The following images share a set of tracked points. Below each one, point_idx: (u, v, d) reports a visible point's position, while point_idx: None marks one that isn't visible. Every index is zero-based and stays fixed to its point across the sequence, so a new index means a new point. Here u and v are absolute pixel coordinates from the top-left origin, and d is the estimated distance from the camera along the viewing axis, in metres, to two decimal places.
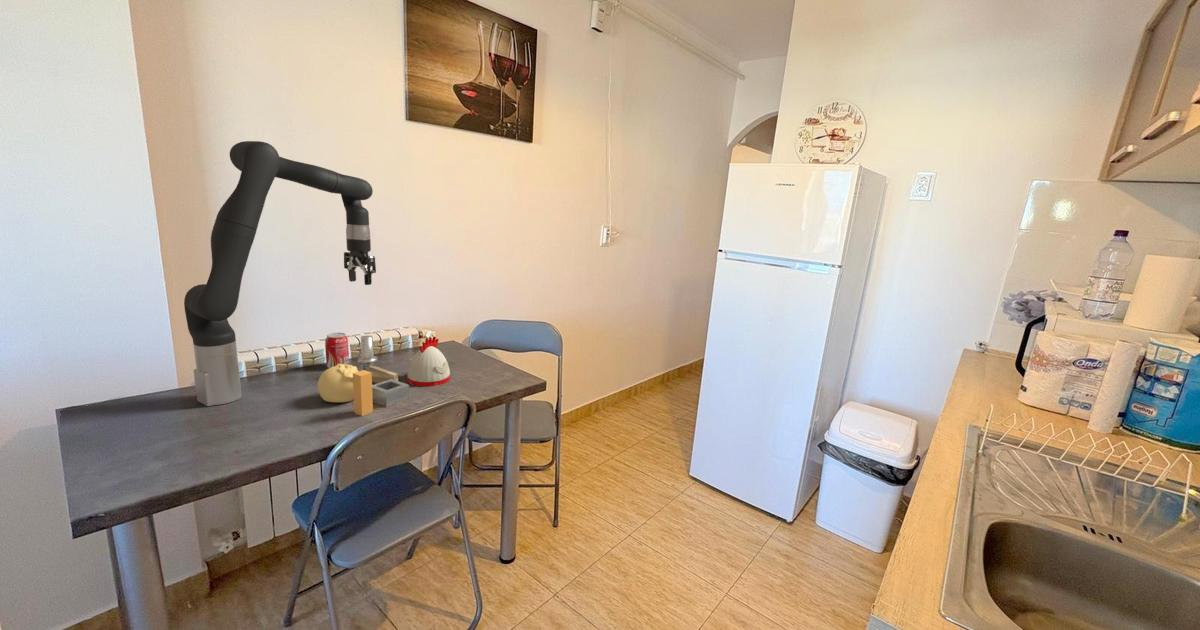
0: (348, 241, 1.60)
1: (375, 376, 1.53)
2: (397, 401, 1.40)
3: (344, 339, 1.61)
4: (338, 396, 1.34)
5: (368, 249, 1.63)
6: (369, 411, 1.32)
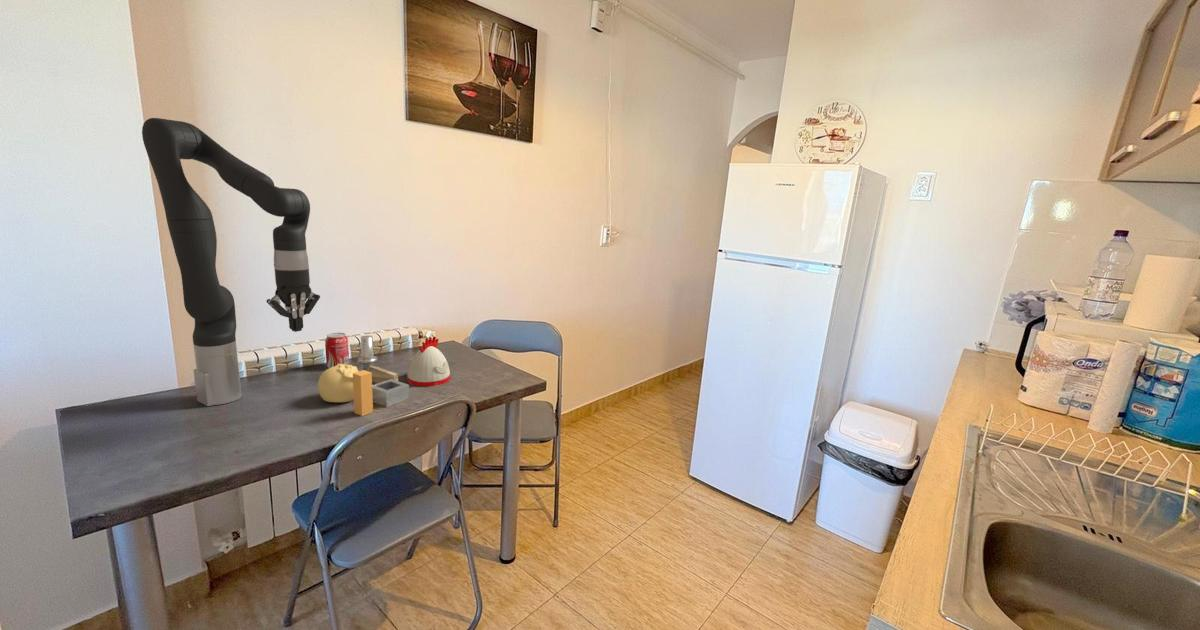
0: (300, 273, 1.19)
1: (375, 376, 1.53)
2: (397, 401, 1.40)
3: (344, 339, 1.61)
4: (338, 396, 1.34)
5: None
6: (369, 411, 1.32)
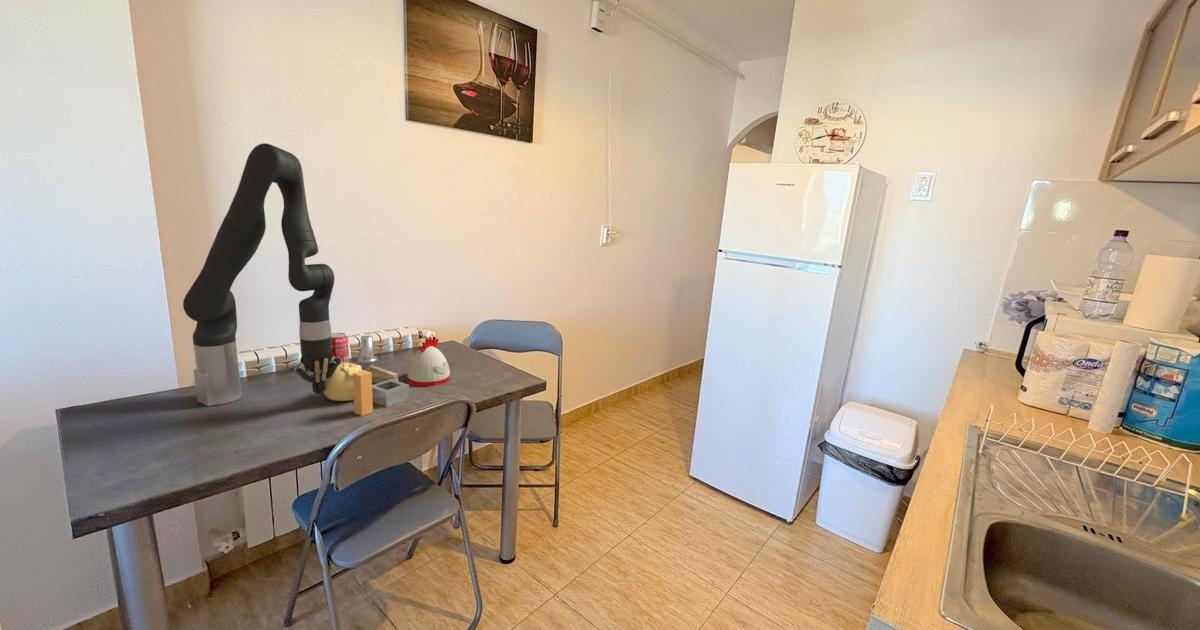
0: (323, 342, 1.28)
1: (375, 376, 1.53)
2: (397, 401, 1.40)
3: (344, 339, 1.61)
4: (342, 395, 1.35)
5: None
6: (369, 411, 1.32)
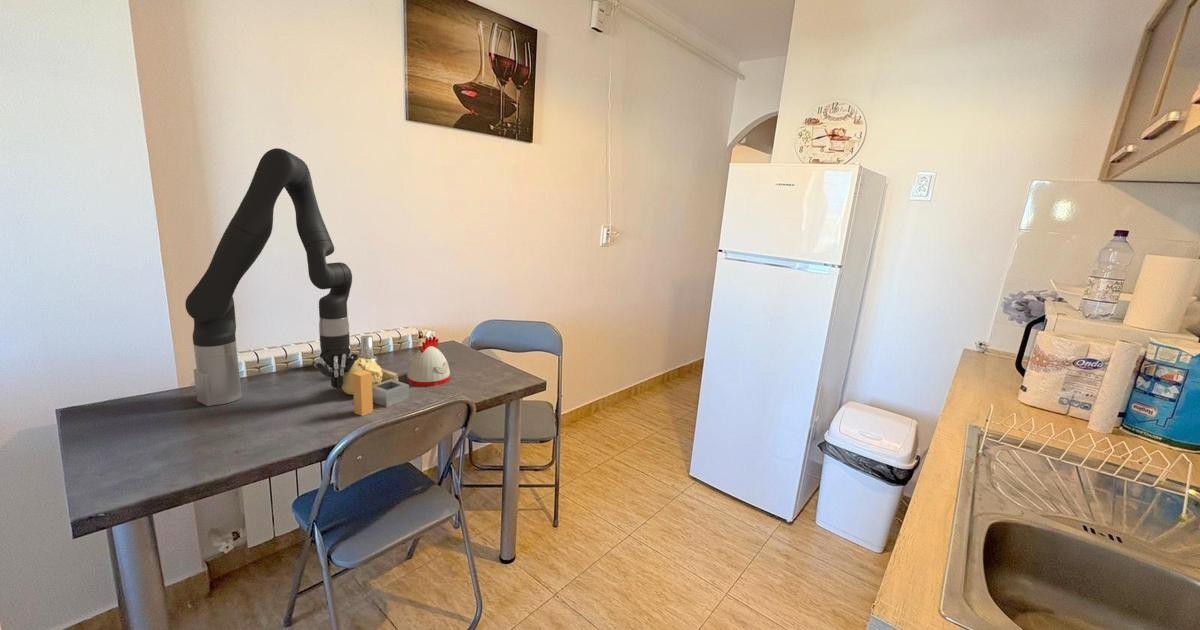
0: (342, 338, 1.33)
1: None
2: (397, 401, 1.40)
3: None
4: None
5: None
6: (369, 411, 1.32)
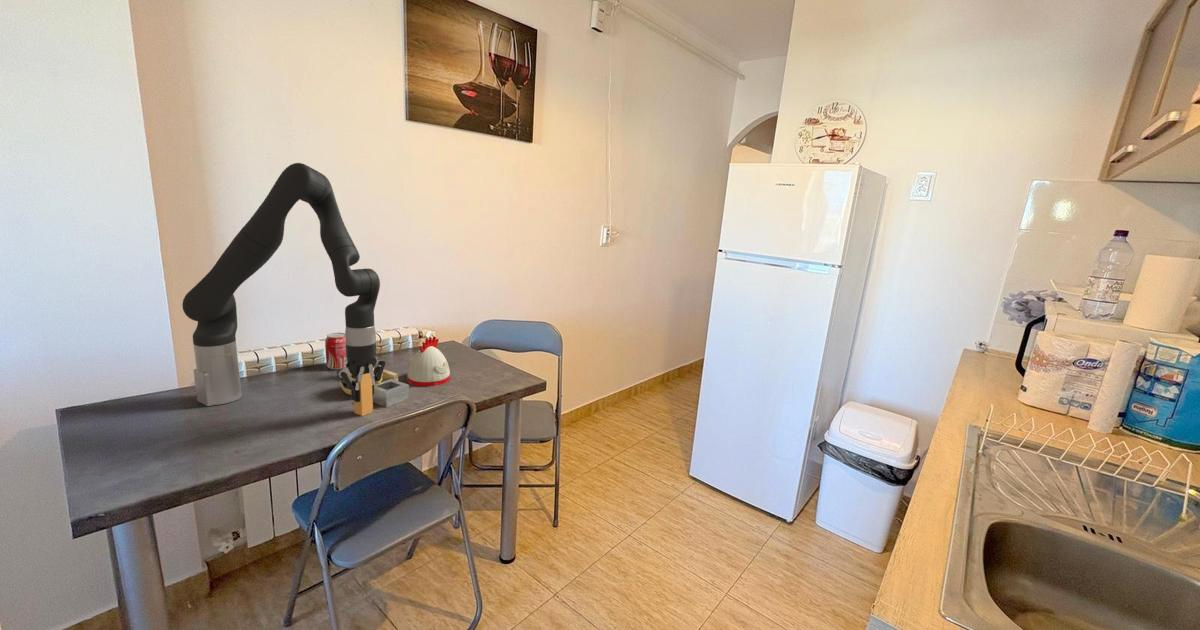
0: (369, 348, 1.26)
1: None
2: (397, 401, 1.40)
3: (344, 339, 1.61)
4: None
5: None
6: (369, 411, 1.32)
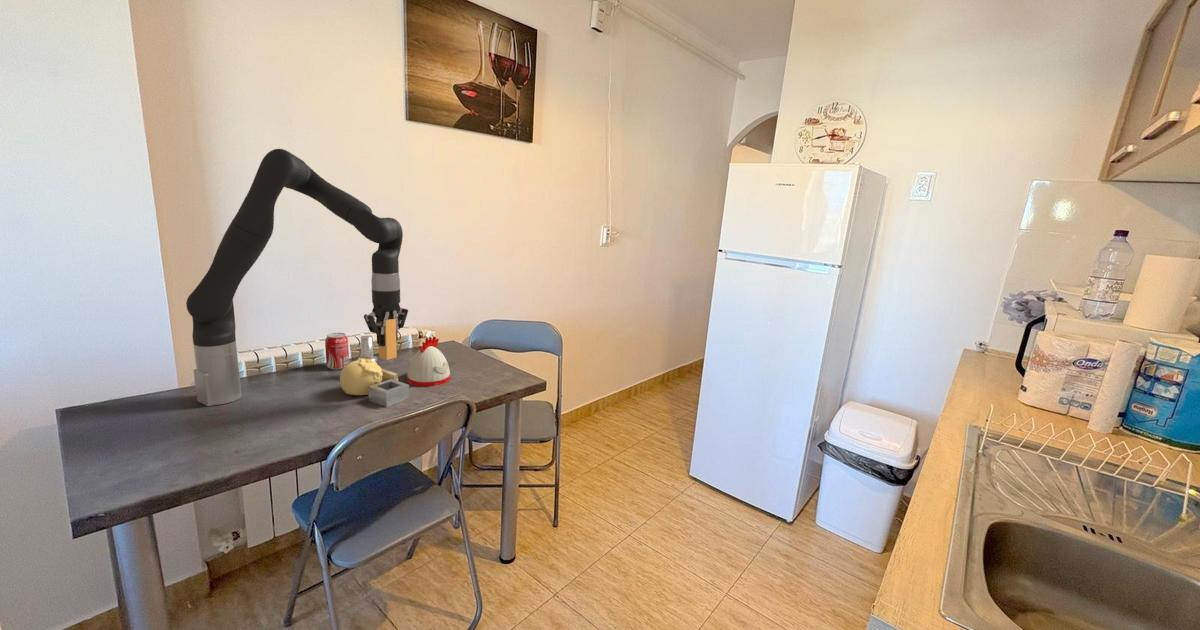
0: (394, 293, 1.33)
1: None
2: (397, 401, 1.40)
3: (344, 339, 1.61)
4: (359, 389, 1.40)
5: None
6: (393, 356, 1.38)
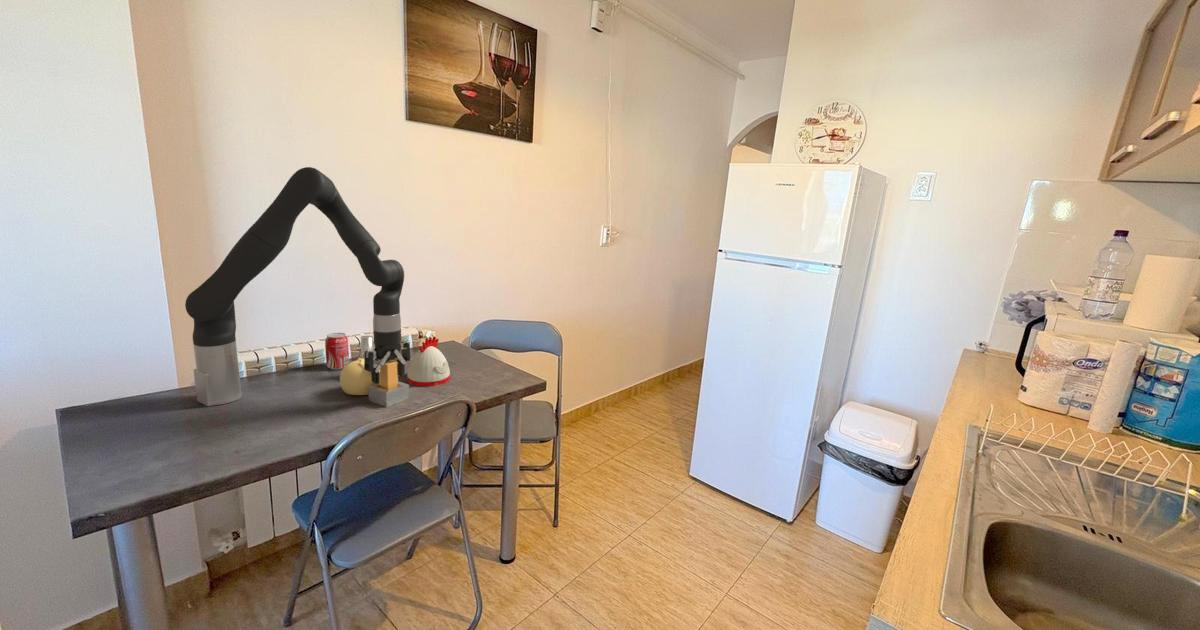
0: (395, 334, 1.35)
1: None
2: (397, 401, 1.40)
3: (344, 339, 1.61)
4: (359, 389, 1.40)
5: None
6: None
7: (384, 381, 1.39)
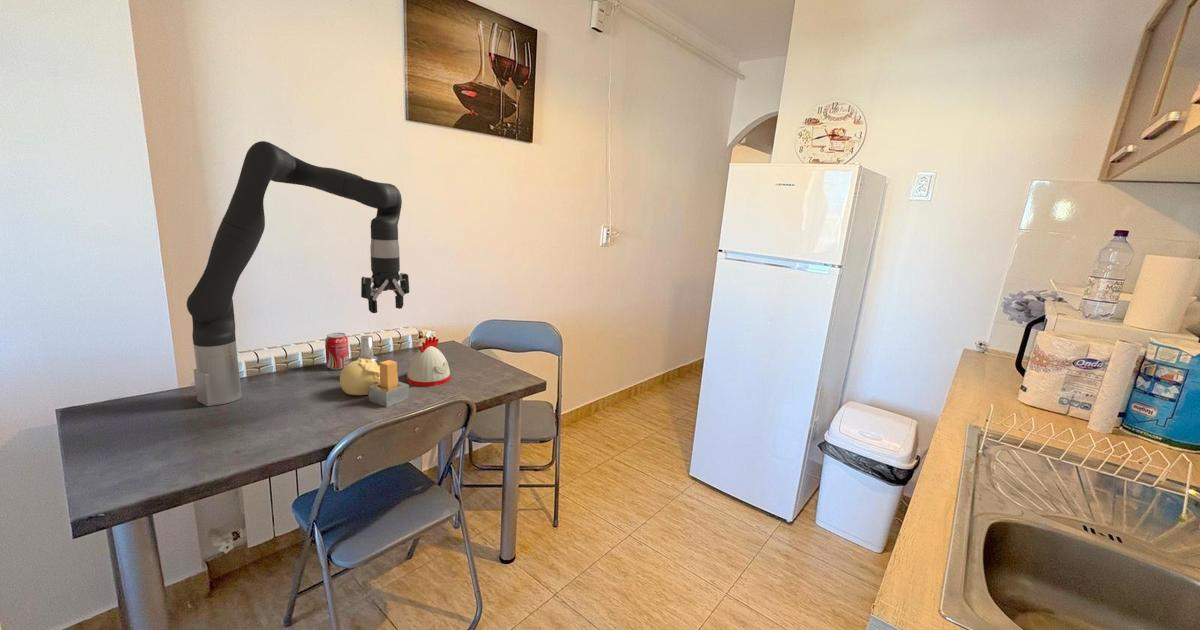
0: (393, 261, 1.31)
1: None
2: (397, 401, 1.40)
3: (344, 339, 1.61)
4: (359, 389, 1.40)
5: None
6: None
7: (384, 381, 1.39)
